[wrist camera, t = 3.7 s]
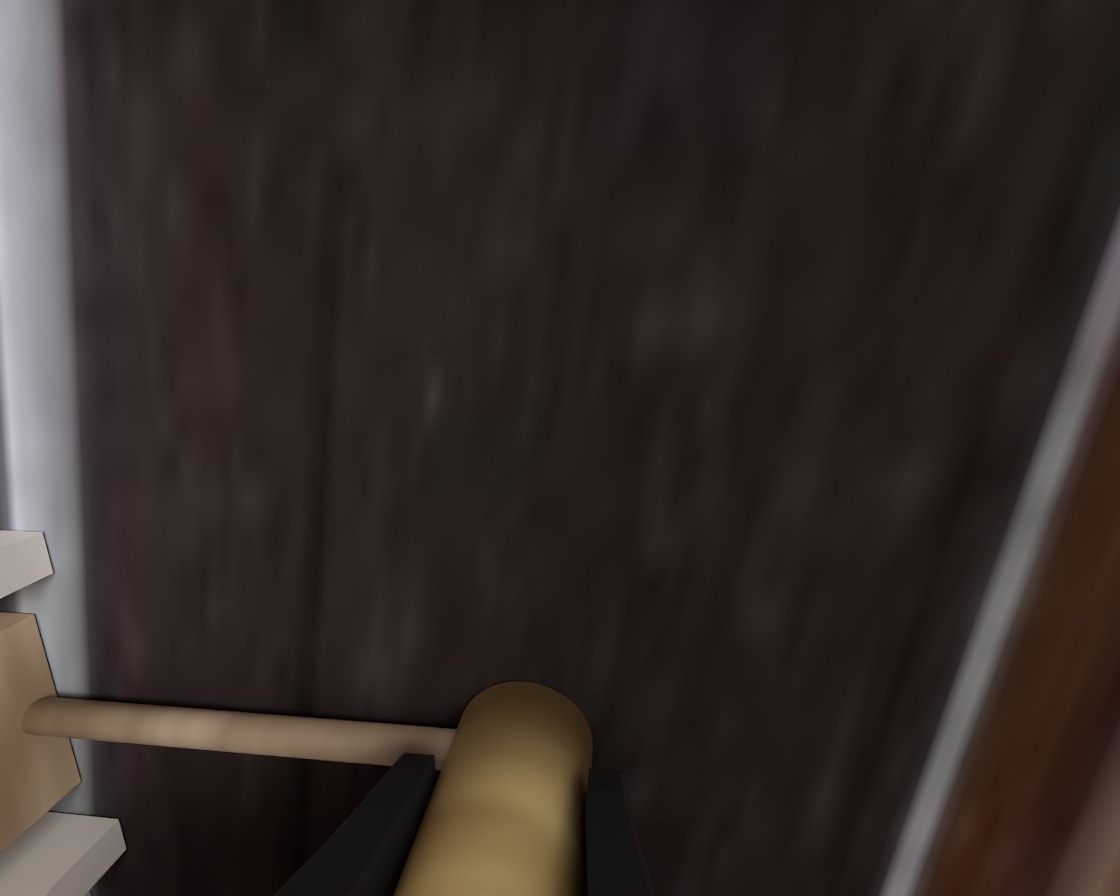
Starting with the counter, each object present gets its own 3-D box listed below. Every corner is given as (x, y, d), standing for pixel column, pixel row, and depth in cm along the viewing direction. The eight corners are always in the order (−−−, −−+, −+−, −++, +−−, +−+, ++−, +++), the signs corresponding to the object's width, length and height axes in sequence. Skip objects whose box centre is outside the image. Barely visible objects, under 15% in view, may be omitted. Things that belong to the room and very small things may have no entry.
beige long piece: (591, 830, 13) (568, 1279, 7) (-91, 765, 14) (-568, 1074, 9) (594, 648, 11) (568, 1008, 6) (-152, 602, 13) (-755, 836, 7)
